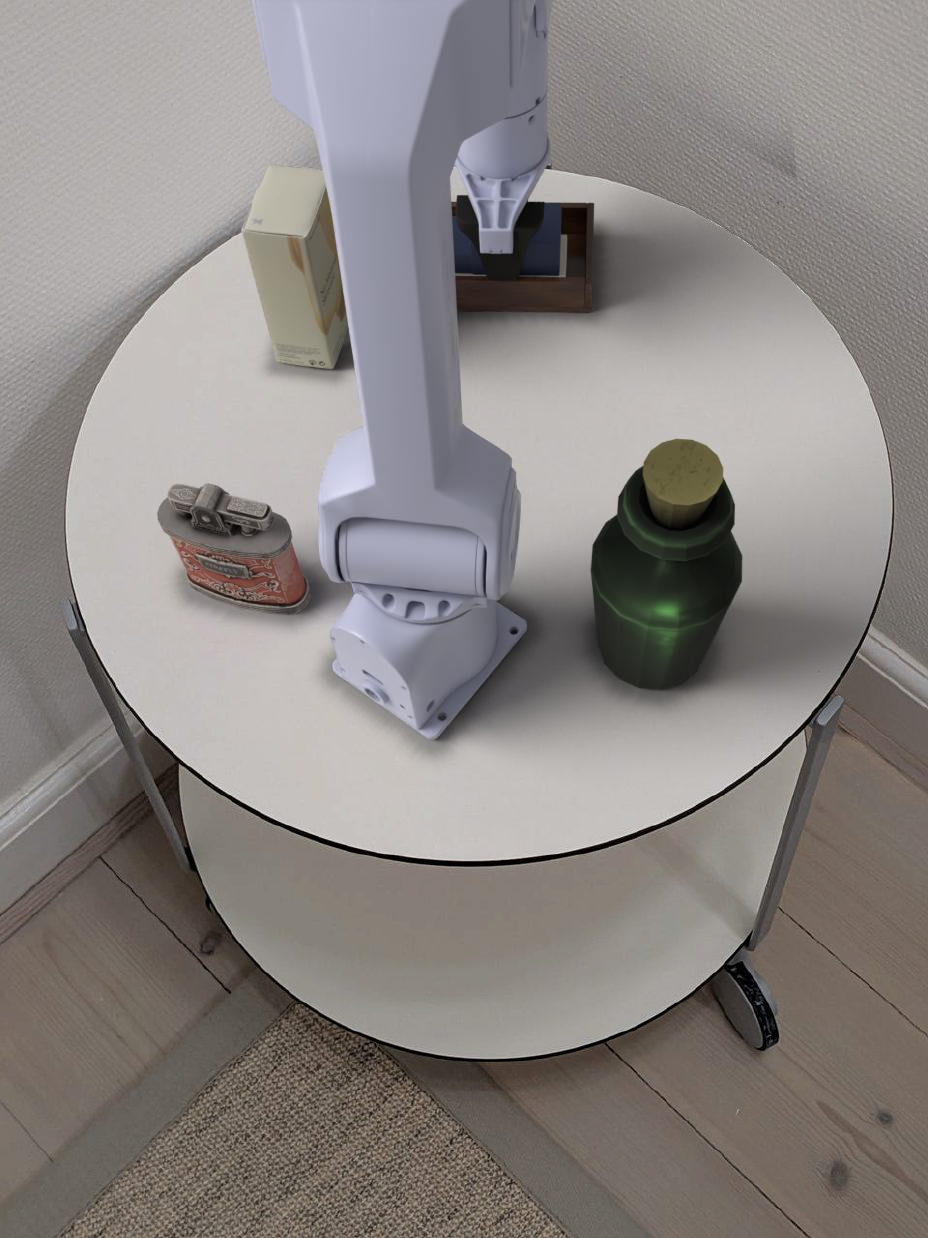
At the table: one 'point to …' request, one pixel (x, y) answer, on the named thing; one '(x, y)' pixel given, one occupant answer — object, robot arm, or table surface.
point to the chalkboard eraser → (541, 254)
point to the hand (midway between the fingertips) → (504, 252)
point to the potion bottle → (666, 567)
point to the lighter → (234, 549)
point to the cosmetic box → (297, 265)
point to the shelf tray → (541, 291)
